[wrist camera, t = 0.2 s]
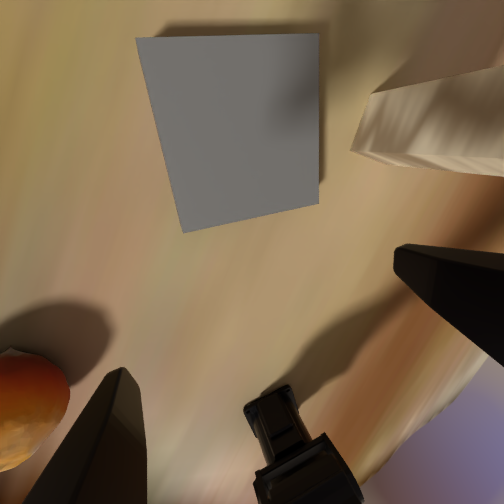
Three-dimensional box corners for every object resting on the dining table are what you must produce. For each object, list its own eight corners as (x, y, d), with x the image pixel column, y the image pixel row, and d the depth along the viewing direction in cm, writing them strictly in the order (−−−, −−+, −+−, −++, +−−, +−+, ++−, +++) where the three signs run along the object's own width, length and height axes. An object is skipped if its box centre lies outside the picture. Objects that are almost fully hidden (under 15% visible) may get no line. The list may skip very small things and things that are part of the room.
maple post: (385, 164, 25) (579, 184, 13) (349, 150, 23) (540, 160, 12) (407, 113, 23) (643, 86, 12) (370, 93, 21) (609, 41, 10)
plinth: (303, 197, 23) (318, 203, 21) (180, 223, 20) (183, 233, 18) (299, 45, 18) (319, 33, 16) (138, 52, 15) (135, 37, 13)
